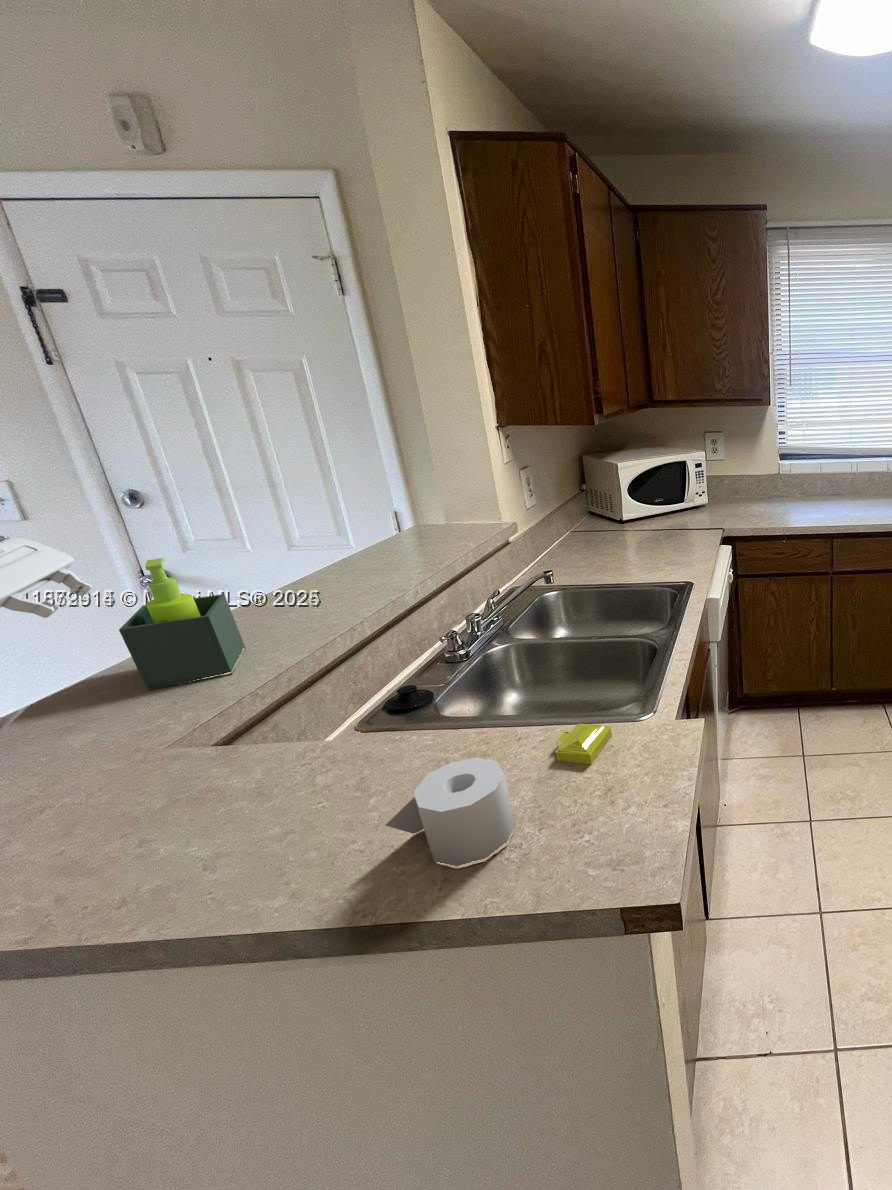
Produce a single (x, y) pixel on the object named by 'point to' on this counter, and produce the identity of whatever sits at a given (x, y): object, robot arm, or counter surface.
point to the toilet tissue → (460, 811)
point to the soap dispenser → (167, 596)
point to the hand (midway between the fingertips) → (71, 601)
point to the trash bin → (184, 644)
